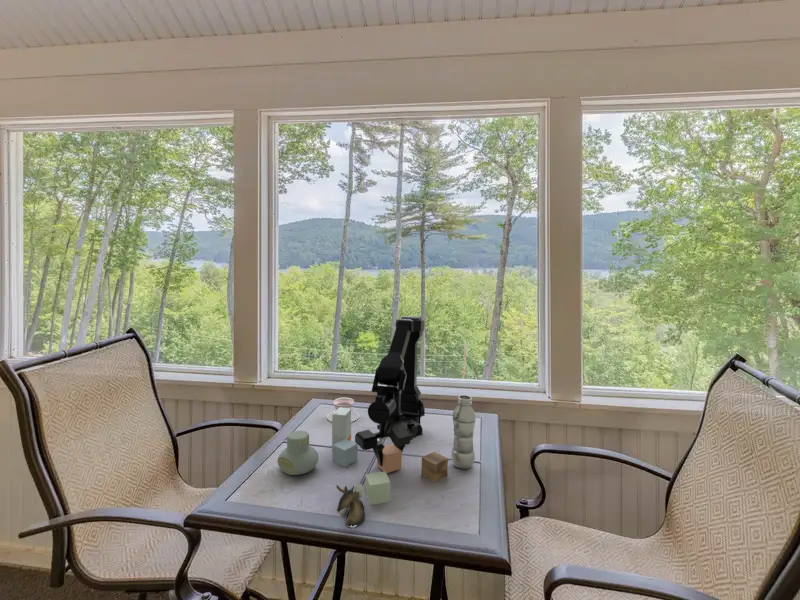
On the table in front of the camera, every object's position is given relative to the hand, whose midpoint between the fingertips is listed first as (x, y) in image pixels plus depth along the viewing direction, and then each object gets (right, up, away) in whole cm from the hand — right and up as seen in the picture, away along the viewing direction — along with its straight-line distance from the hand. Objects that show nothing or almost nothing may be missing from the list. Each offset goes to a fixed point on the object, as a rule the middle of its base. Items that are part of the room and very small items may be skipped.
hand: (389, 463), depth 107 cm
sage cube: (-2, -3, -13) cm, 14 cm away
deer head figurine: (-8, -4, -19) cm, 22 cm away
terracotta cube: (0, -1, 0) cm, 1 cm away
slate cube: (-13, -1, +4) cm, 14 cm away
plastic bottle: (+21, -2, +2) cm, 21 cm away
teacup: (-18, +2, +35) cm, 39 cm away
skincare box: (-15, 0, +11) cm, 18 cm away
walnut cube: (+12, -2, -3) cm, 13 cm away
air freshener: (-25, -2, -1) cm, 25 cm away
